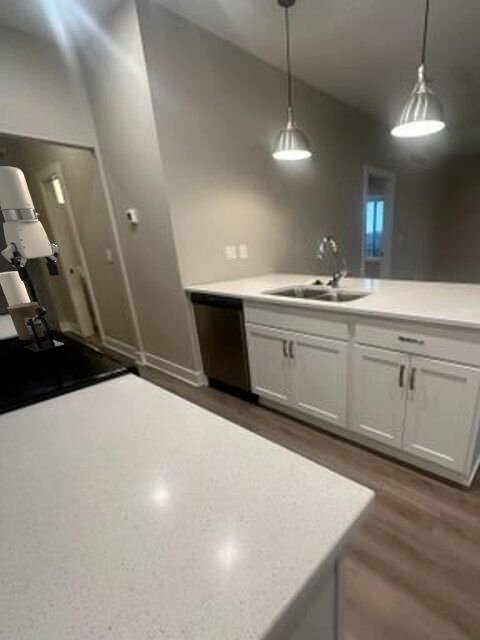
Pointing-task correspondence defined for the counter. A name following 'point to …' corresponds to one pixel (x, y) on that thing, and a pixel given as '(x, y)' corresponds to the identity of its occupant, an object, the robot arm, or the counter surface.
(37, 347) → the bracket
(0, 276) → the cylindrical container
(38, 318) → the lever
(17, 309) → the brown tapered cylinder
